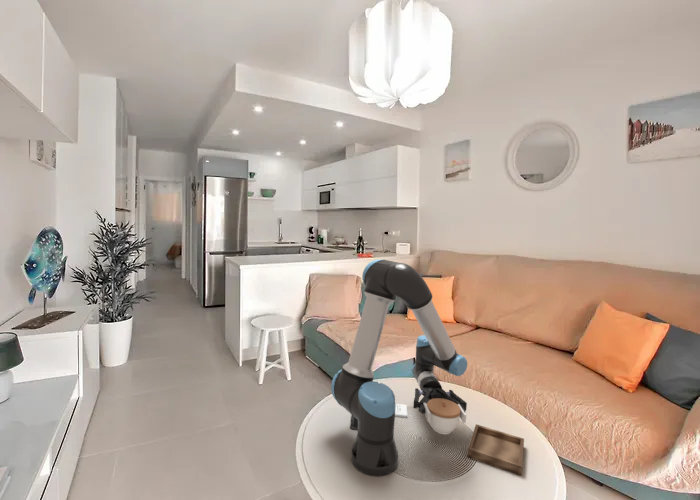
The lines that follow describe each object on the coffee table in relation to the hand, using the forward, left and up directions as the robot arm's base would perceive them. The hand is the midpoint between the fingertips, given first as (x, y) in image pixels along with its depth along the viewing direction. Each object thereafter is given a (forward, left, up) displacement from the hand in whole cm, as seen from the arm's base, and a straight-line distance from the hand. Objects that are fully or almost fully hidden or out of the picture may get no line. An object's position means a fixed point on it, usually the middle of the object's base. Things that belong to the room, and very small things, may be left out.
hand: (447, 418), depth 108 cm
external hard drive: (-26, +20, -16) cm, 37 cm away
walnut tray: (+14, +15, -15) cm, 26 cm away
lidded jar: (-2, +3, -6) cm, 8 cm away
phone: (-34, +8, -16) cm, 39 cm away
